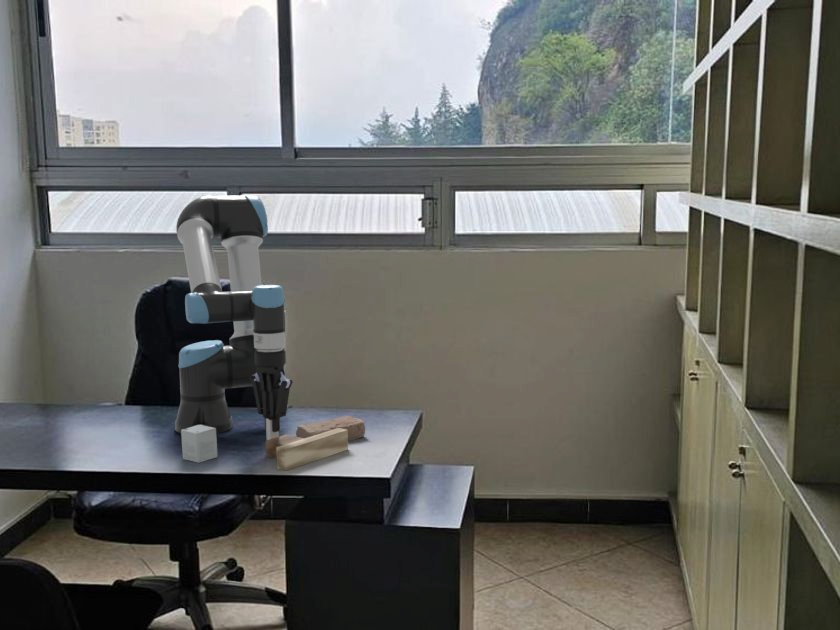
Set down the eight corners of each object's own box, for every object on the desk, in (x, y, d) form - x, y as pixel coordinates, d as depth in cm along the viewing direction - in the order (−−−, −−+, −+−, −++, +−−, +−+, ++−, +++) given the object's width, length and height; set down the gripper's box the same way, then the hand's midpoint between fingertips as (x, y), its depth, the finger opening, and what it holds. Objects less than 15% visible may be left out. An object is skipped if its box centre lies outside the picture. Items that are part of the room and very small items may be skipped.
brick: (309, 449, 222) (309, 430, 221) (294, 441, 228) (294, 423, 228) (366, 438, 231) (366, 421, 230) (350, 431, 238) (350, 414, 237)
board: (276, 468, 205) (276, 447, 205) (339, 447, 222) (338, 427, 221) (286, 470, 204) (285, 449, 203) (348, 449, 220) (347, 429, 219)
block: (266, 456, 215) (265, 440, 215) (287, 449, 221) (286, 434, 220) (285, 461, 211) (285, 445, 211) (307, 454, 217) (306, 439, 216)
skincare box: (218, 457, 214) (216, 427, 213) (197, 463, 210) (196, 433, 209) (202, 453, 218) (200, 423, 217) (181, 459, 213) (180, 429, 212)
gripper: (240, 348, 216) (243, 443, 219) (276, 354, 208) (279, 451, 211) (263, 344, 222) (266, 436, 225) (299, 349, 214) (302, 444, 217)
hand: (272, 443), depth 218 cm, fingers closed
